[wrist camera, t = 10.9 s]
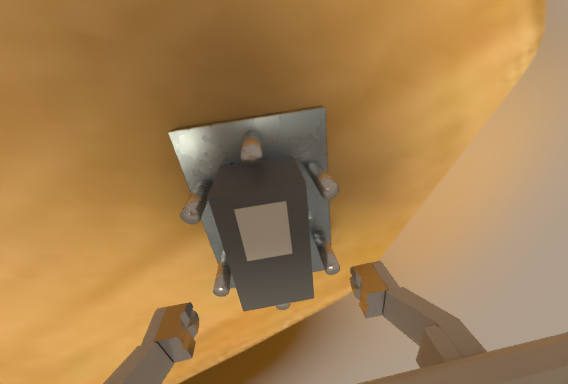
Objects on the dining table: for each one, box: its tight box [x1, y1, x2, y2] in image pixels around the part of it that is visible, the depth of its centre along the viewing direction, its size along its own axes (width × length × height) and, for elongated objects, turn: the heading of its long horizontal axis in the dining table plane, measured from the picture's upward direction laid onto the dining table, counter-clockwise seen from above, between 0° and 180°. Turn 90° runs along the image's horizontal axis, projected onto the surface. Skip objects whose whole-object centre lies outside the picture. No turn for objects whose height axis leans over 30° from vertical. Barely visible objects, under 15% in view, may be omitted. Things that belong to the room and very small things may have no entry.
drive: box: [207, 156, 314, 311], centre depth 16 cm, size 10×6×5 cm, turn 6°
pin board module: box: [168, 106, 340, 310], centre depth 17 cm, size 16×11×5 cm
